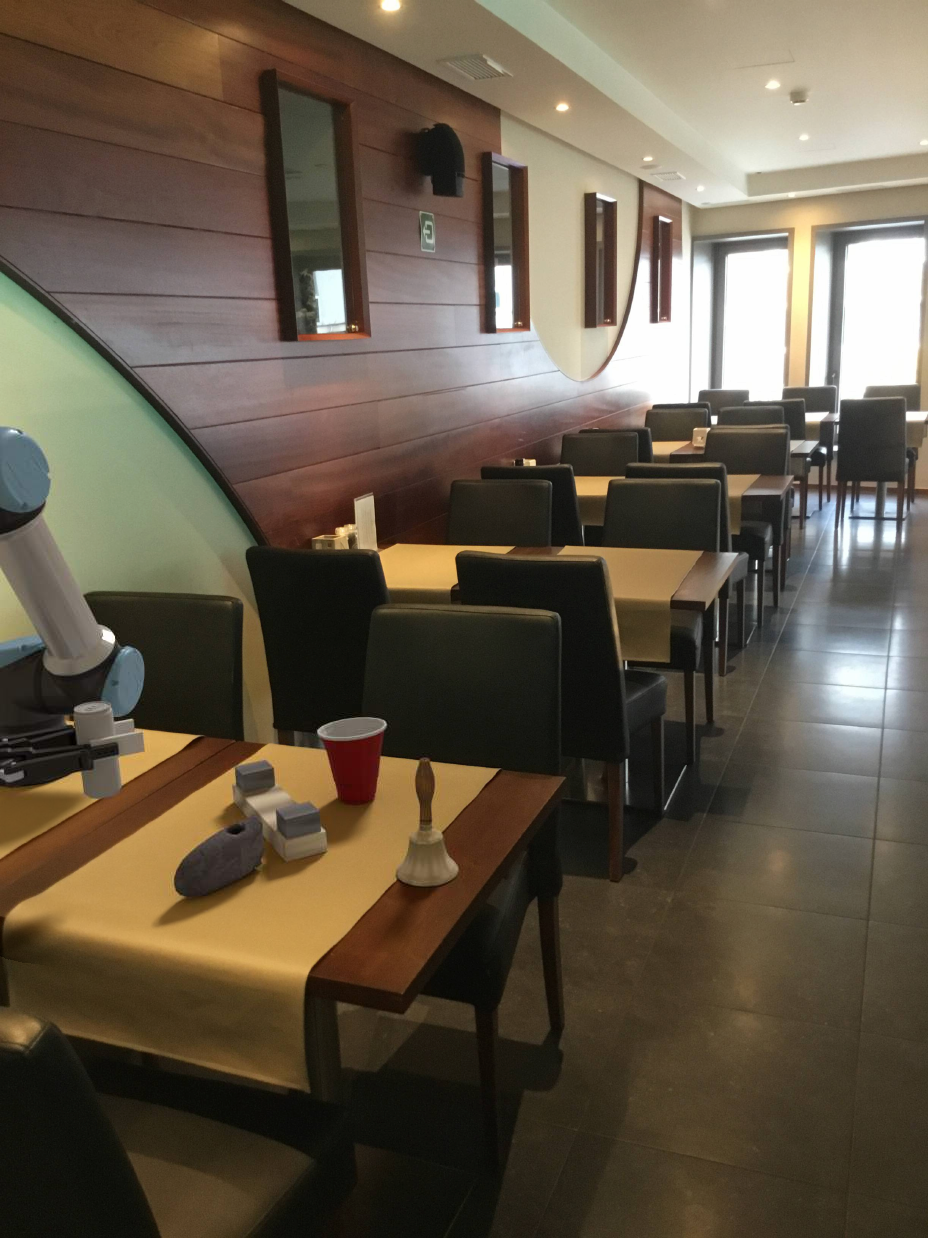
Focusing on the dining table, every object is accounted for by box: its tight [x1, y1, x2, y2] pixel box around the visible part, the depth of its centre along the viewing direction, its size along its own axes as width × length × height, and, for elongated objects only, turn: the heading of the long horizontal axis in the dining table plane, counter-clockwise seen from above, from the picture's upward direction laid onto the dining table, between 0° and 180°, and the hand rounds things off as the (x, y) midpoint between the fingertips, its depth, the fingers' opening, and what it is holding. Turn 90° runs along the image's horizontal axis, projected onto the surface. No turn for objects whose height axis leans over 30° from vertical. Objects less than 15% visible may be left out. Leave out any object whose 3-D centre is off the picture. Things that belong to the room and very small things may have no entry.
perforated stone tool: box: [173, 816, 266, 898], centre depth 132 cm, size 15×5×7 cm, turn 142°
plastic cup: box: [316, 716, 388, 805], centre depth 157 cm, size 11×11×12 cm
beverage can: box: [73, 701, 123, 800], centre depth 132 cm, size 5×5×12 cm
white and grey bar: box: [231, 759, 328, 863], centre depth 148 cm, size 24×6×6 cm, turn 30°
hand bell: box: [395, 757, 460, 887], centre depth 132 cm, size 8×8×16 cm
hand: (138, 734), depth 134 cm, fingers closed on beverage can, 5 cm apart
